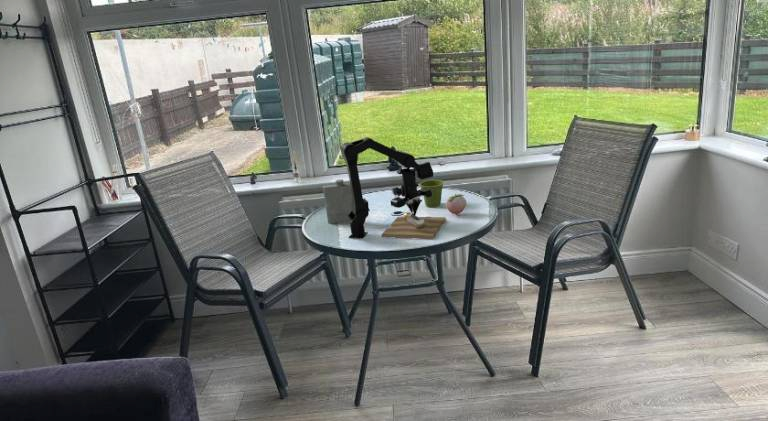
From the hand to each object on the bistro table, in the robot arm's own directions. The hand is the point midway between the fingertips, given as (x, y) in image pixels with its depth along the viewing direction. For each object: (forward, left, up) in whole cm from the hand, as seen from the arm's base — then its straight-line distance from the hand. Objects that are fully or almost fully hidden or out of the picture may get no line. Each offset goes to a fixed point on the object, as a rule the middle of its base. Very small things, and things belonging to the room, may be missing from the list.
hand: (414, 216), depth 221 cm
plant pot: (+26, -2, -4) cm, 27 cm away
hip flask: (+1, +34, -4) cm, 35 cm away
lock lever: (-4, -1, -2) cm, 4 cm away
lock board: (-6, -2, -4) cm, 7 cm away
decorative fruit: (+13, -16, -4) cm, 21 cm away
